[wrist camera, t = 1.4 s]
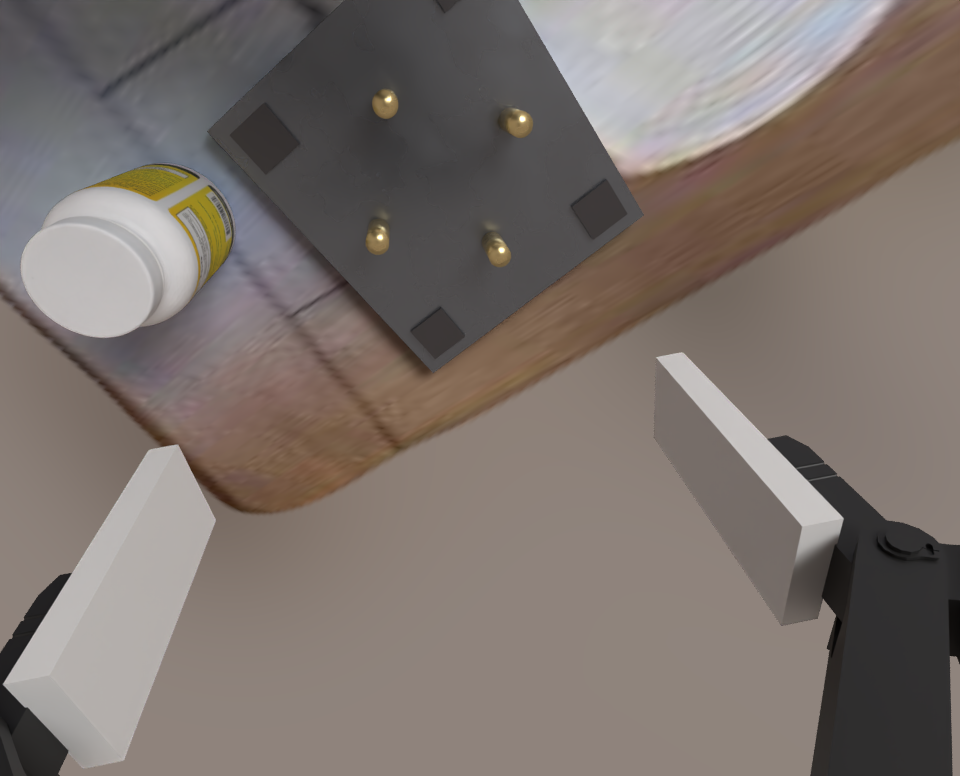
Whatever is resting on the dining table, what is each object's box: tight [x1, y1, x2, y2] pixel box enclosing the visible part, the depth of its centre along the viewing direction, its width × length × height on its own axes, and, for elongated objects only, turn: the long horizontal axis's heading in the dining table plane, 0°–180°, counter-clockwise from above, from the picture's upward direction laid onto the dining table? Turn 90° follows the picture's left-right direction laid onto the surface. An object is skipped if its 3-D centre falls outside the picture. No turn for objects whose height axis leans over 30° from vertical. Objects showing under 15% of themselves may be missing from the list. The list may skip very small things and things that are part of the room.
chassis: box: [207, 0, 644, 373], centre depth 31 cm, size 18×16×4 cm
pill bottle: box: [20, 163, 235, 338], centre depth 27 cm, size 6×6×11 cm
